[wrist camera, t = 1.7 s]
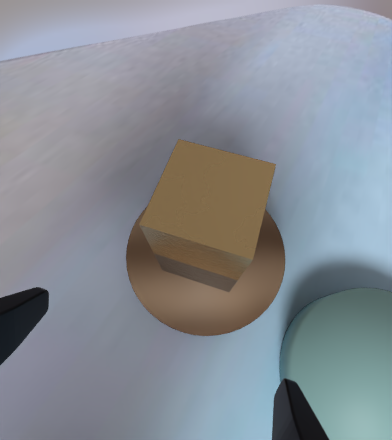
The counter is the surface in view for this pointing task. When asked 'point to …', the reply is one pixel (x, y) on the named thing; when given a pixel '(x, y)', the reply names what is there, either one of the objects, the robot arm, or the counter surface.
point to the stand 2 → (344, 362)
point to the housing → (207, 214)
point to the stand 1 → (203, 294)
